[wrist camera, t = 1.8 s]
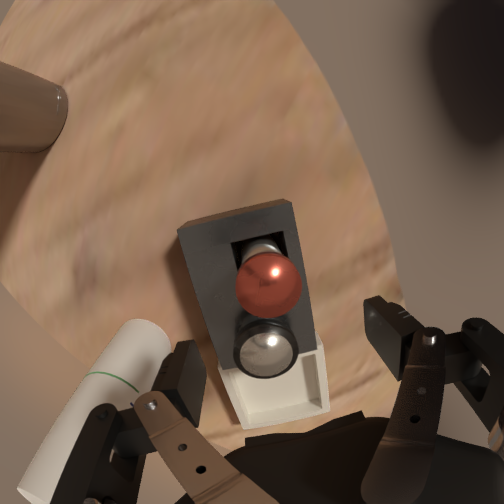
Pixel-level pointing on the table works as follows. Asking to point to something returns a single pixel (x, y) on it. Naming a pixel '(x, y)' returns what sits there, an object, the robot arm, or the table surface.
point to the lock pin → (266, 279)
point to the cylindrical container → (98, 400)
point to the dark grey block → (224, 293)
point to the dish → (280, 392)
